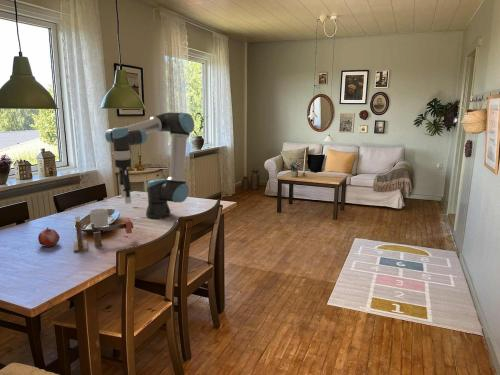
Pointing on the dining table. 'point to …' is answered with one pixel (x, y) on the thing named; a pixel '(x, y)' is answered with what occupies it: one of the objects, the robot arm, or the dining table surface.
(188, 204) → the dining table surface
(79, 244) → the wooden square frame
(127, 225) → the hook rod
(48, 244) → the fruit
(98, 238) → the saddle block
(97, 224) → the mug
